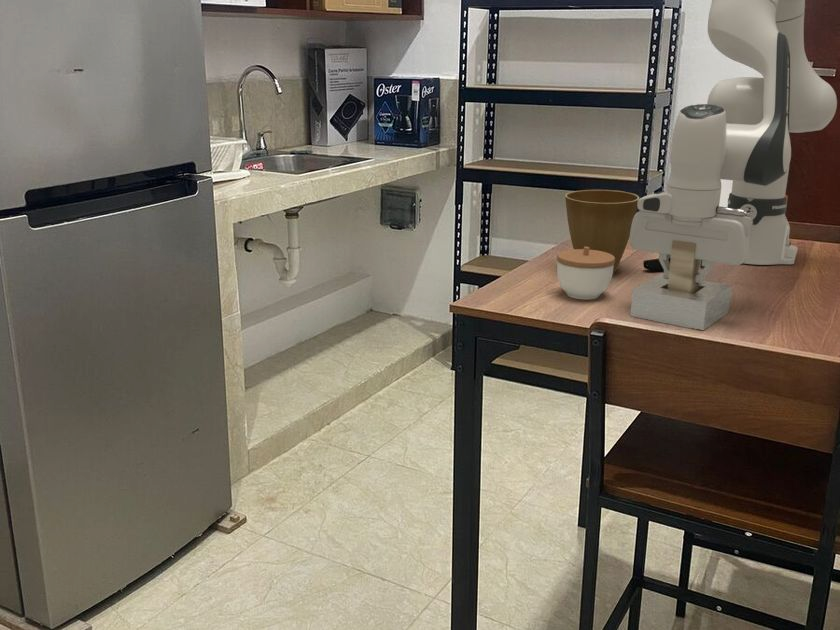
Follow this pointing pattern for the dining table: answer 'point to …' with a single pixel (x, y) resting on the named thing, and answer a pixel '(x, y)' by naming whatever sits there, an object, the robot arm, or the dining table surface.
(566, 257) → the lidded jar
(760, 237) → the robot arm
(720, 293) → the socket block
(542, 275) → the dining table surface
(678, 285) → the ash peg
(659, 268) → the electric trimmer
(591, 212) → the plant pot
